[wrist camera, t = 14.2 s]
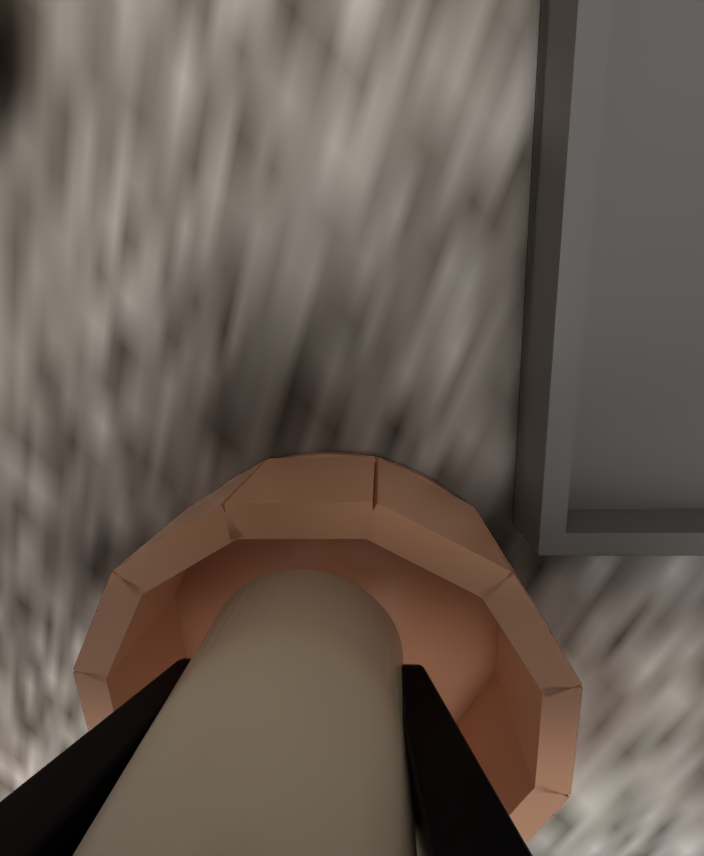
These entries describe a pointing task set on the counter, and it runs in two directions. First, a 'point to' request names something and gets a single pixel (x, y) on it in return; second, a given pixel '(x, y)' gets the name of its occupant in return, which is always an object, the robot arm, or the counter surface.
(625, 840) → the counter surface
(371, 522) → the bowl
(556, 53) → the parts tray
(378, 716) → the pebble
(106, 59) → the counter surface
